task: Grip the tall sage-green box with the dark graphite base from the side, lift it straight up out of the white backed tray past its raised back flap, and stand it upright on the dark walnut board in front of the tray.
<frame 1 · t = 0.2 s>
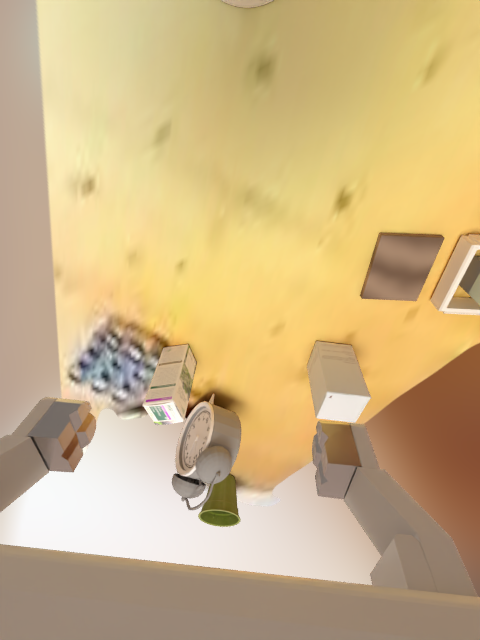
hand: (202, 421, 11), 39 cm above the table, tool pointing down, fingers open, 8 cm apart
syrup box: (181, 354, 63), on the table
supplement box: (328, 355, 61), on the table
plant pot: (223, 477, 95), on the table
alarm clock: (212, 407, 73), on the table
walnut board: (397, 267, 48), on the table
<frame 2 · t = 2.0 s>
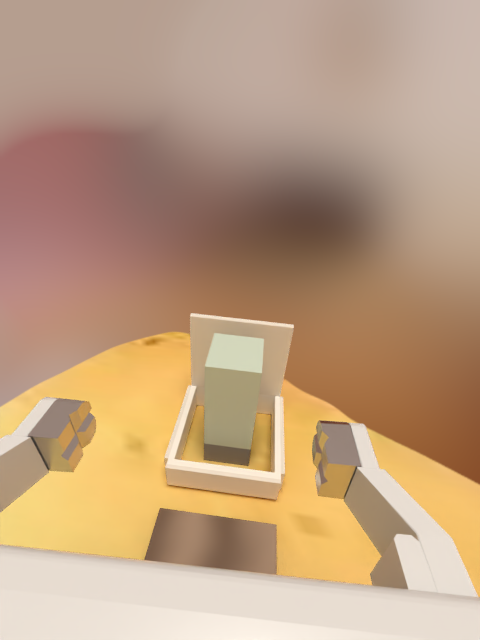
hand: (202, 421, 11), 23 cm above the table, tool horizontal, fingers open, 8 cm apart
white backed tray: (228, 443, 36), on the table
walnut board: (208, 580, 25), on the table
sage box: (228, 443, 36), resting in white backed tray
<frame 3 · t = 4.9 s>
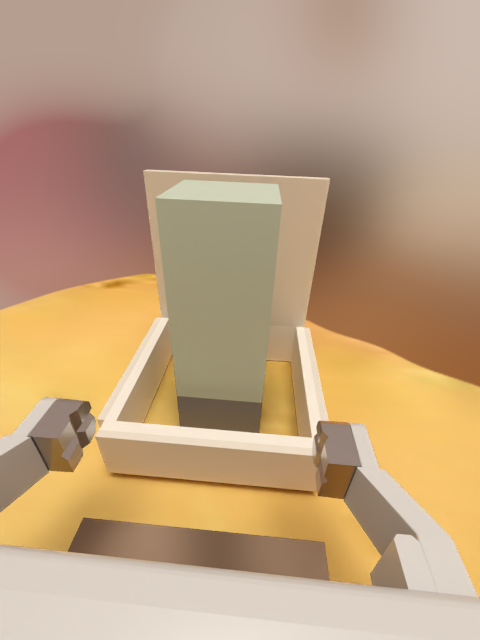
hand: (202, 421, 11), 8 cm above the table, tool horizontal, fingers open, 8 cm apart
white backed tray: (224, 402, 22), on the table
sage box: (224, 402, 22), resting in white backed tray
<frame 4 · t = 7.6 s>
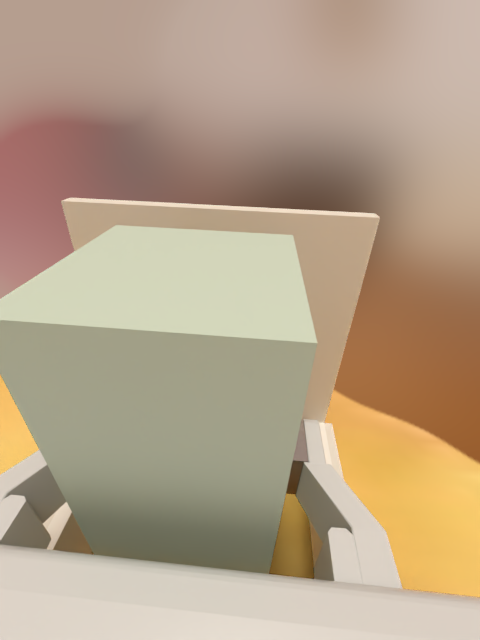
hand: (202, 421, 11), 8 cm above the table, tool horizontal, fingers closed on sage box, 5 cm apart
white backed tray: (203, 552, 14), on the table
sage box: (203, 552, 14), resting in white backed tray, touching gripper
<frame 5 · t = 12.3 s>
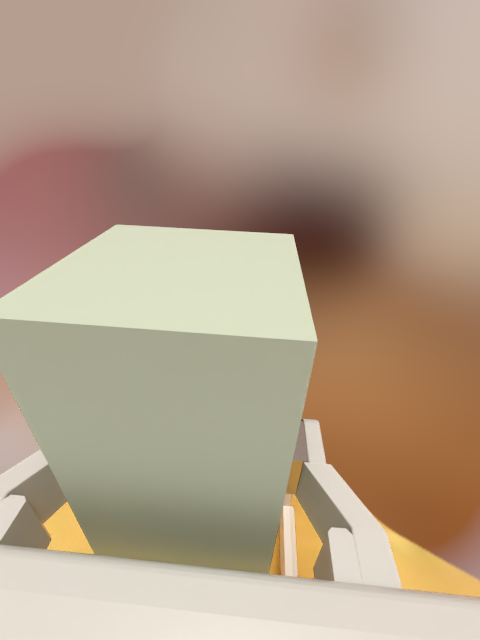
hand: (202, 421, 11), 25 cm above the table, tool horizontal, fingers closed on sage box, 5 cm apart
white backed tray: (223, 579, 27), on the table
sage box: (203, 551, 14), point 17 cm above the table, touching gripper
when the fingers open (10 cm above the table, at t = 17.4 s): sage box drops 1 cm, resting on walnut board.
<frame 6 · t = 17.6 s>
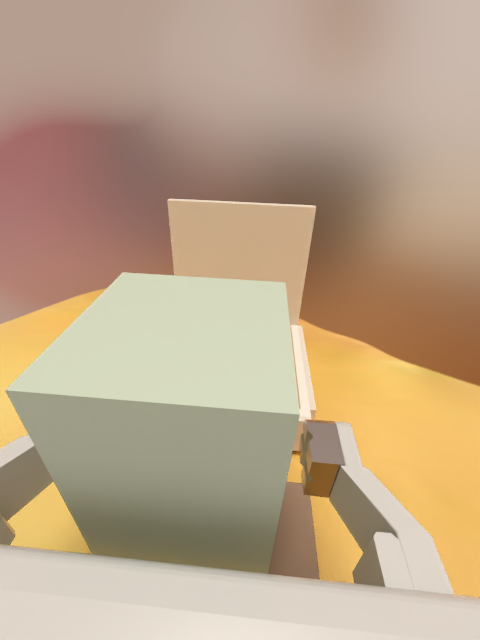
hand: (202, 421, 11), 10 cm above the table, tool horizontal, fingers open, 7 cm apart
white backed tray: (231, 386, 26), on the table
walnut board: (204, 573, 15), on the table
sage box: (203, 565, 15), point 1 cm above the table, touching walnut board
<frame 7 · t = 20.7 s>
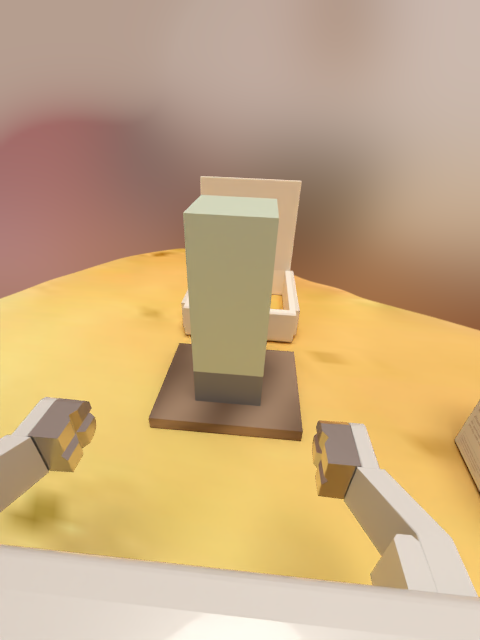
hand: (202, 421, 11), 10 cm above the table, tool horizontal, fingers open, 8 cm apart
white backed tray: (242, 311, 37), on the table
walnut board: (231, 389, 26), on the table
sage box: (231, 380, 25), point 1 cm above the table, touching walnut board
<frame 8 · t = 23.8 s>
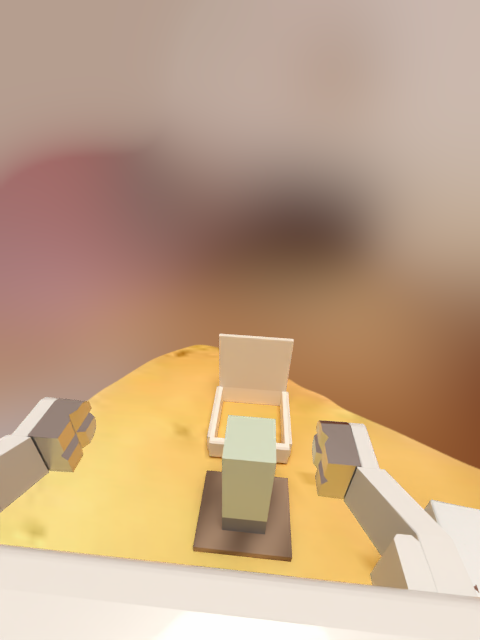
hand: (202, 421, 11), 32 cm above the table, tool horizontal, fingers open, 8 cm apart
supplement box: (433, 606, 31), on the table
white backed tray: (249, 427, 49), on the table
walnut board: (244, 513, 38), on the table
sage box: (244, 509, 38), point 1 cm above the table, touching walnut board
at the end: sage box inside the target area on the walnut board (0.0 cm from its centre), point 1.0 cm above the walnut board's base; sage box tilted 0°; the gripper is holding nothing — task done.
